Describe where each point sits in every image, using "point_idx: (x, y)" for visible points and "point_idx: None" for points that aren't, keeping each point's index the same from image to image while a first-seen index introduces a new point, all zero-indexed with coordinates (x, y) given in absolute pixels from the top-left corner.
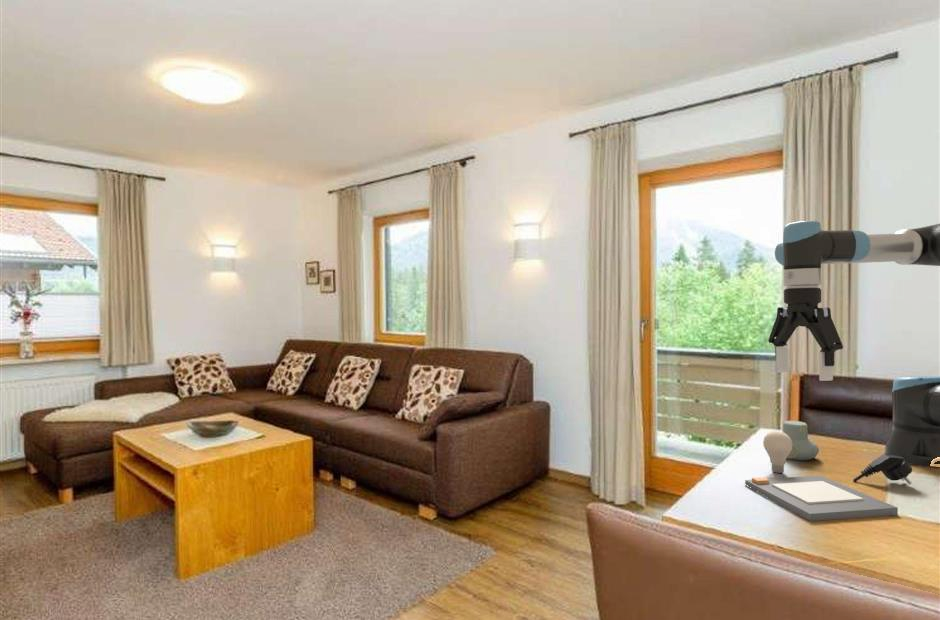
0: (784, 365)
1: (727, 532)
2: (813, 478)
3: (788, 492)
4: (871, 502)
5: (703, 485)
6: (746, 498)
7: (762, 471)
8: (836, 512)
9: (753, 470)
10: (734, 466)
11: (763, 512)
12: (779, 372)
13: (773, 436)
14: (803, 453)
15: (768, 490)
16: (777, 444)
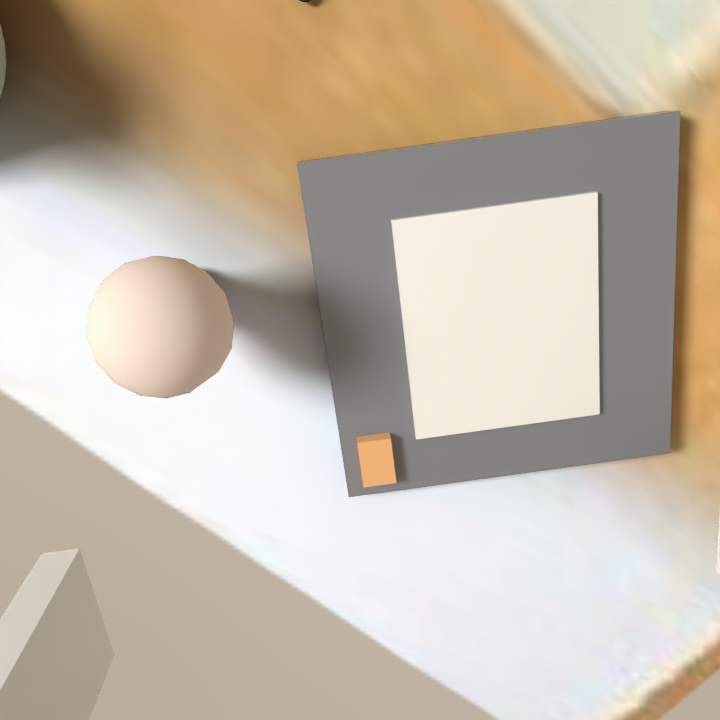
0: (62, 656)
1: (680, 671)
2: (337, 223)
3: (503, 426)
4: (619, 175)
5: (334, 608)
6: (461, 530)
7: None
8: (672, 363)
9: None
10: (102, 418)
11: (575, 534)
12: (108, 645)
13: (186, 382)
14: (3, 66)
15: (461, 471)
16: (221, 363)
